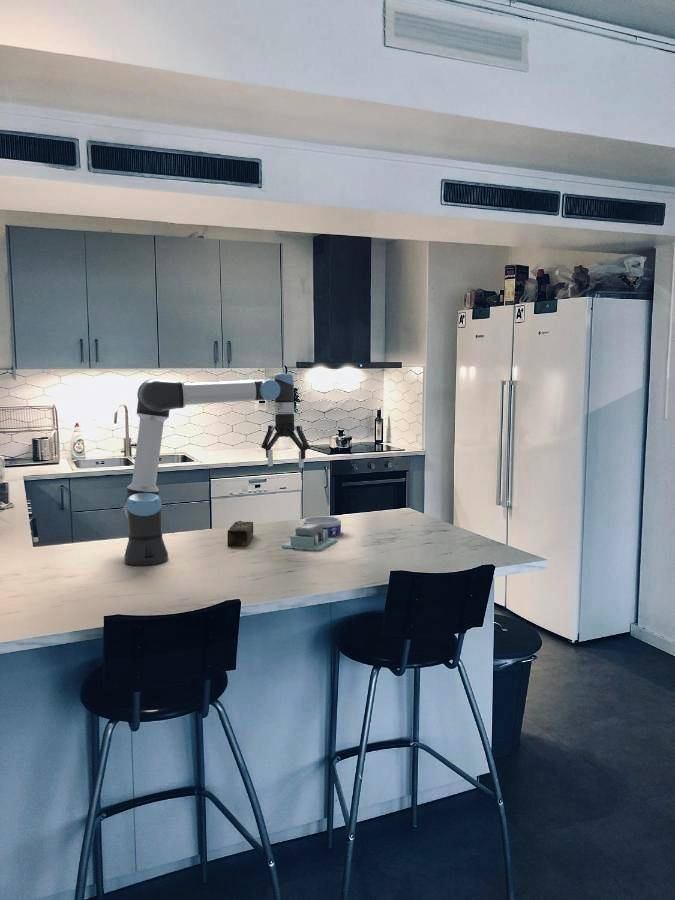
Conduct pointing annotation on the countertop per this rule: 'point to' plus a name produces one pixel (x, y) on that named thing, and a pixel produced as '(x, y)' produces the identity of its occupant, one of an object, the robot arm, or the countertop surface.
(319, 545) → the pin tray
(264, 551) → the countertop surface
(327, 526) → the dog bowl
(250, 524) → the beverage carton
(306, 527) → the block
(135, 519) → the robot arm
